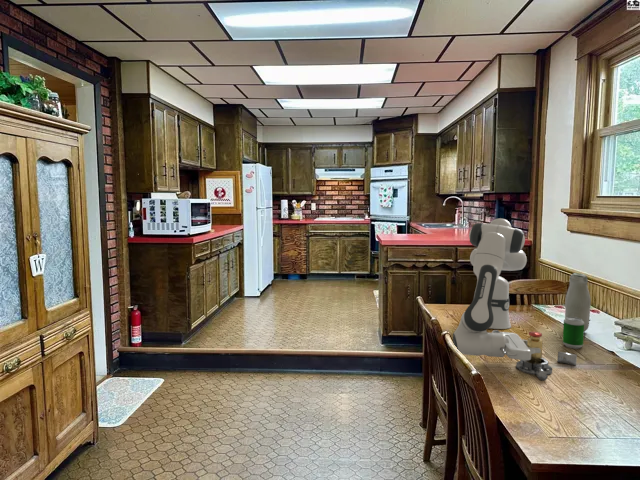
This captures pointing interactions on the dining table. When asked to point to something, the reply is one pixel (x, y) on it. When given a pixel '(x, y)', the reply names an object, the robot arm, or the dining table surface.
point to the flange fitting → (535, 368)
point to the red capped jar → (535, 342)
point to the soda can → (573, 332)
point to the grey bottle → (578, 299)
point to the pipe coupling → (567, 358)
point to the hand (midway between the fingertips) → (537, 347)
